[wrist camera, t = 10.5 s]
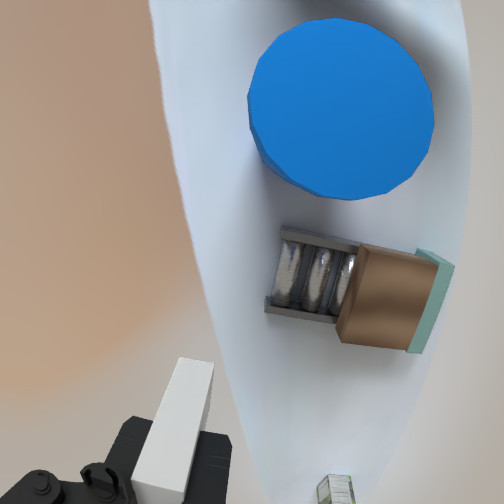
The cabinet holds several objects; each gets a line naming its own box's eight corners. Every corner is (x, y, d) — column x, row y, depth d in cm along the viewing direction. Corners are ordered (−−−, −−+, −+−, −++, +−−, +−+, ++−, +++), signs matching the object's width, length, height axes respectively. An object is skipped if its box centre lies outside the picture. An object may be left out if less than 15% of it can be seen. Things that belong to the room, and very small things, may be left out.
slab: (360, 243, 39) (370, 251, 35) (425, 258, 40) (438, 266, 36) (335, 327, 42) (341, 342, 39) (397, 336, 43) (407, 350, 39)
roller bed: (281, 225, 42) (282, 230, 39) (415, 254, 43) (424, 261, 40) (264, 302, 45) (264, 312, 42) (392, 323, 46) (399, 332, 43)
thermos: (353, 162, 40) (460, 165, 16) (278, 194, 41) (298, 235, 17) (318, 86, 37) (384, -1, 13) (242, 117, 39) (213, 53, 15)
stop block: (417, 248, 42) (440, 262, 36) (431, 251, 42) (455, 266, 36) (390, 328, 46) (406, 352, 39) (404, 330, 46) (421, 353, 39)
